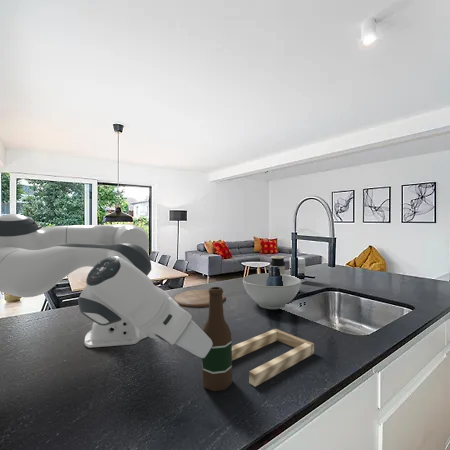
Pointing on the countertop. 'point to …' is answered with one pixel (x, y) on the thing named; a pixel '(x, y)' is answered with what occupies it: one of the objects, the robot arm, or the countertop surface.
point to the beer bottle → (217, 346)
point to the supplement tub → (300, 266)
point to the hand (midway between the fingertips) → (196, 346)
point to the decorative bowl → (271, 290)
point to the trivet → (194, 298)
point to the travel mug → (278, 263)
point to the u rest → (279, 363)
